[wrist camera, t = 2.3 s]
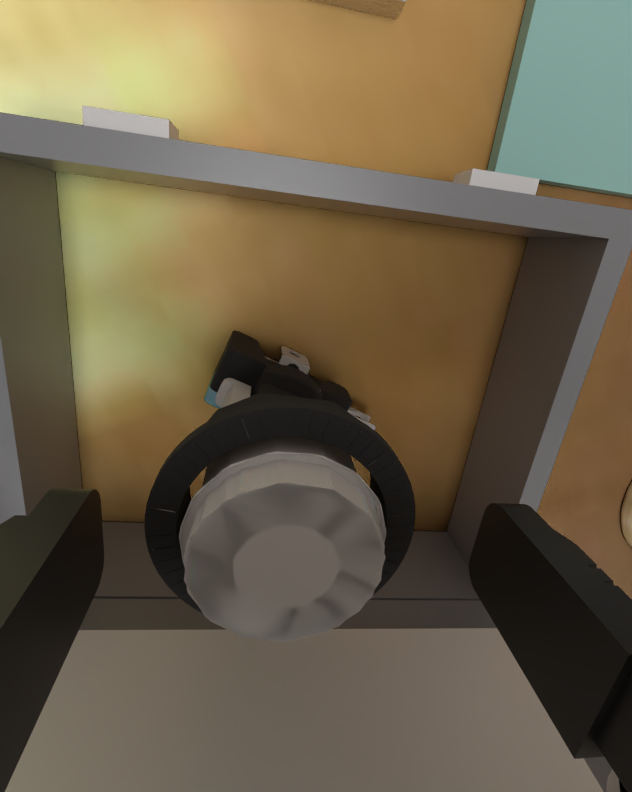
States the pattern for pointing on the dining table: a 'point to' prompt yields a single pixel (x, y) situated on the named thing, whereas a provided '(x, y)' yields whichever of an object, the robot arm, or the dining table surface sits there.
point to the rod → (369, 6)
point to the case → (389, 607)
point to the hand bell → (627, 516)
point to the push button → (278, 502)
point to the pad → (570, 97)
